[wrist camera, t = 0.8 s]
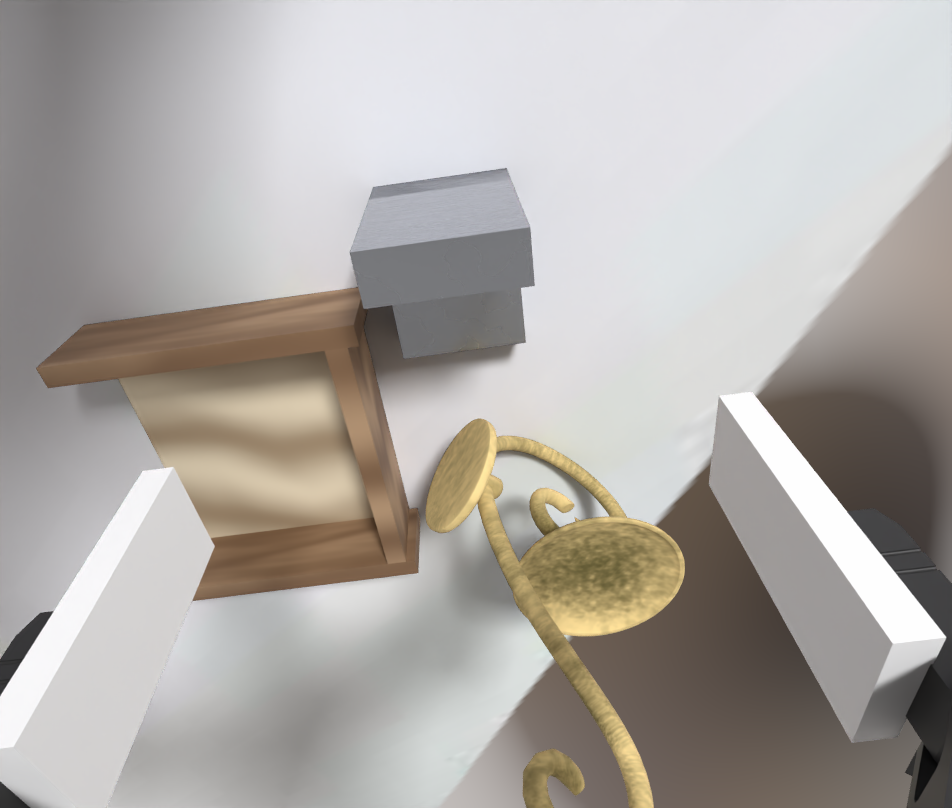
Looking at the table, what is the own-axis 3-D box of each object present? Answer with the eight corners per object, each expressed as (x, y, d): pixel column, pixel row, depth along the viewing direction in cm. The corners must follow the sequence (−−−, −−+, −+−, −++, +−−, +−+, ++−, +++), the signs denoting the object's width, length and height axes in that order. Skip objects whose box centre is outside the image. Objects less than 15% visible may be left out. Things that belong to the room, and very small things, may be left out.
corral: (83, 325, 35) (35, 368, 31) (363, 286, 35) (353, 325, 31) (202, 547, 45) (177, 602, 41) (420, 520, 45) (418, 572, 41)
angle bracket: (373, 187, 32) (349, 252, 24) (506, 168, 32) (530, 227, 23) (405, 339, 37) (395, 438, 29) (521, 323, 37) (544, 418, 28)
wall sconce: (416, 454, 42) (392, 908, 21) (494, 348, 37) (562, 784, 17) (576, 528, 46) (688, 962, 25) (662, 442, 42) (879, 875, 21)
